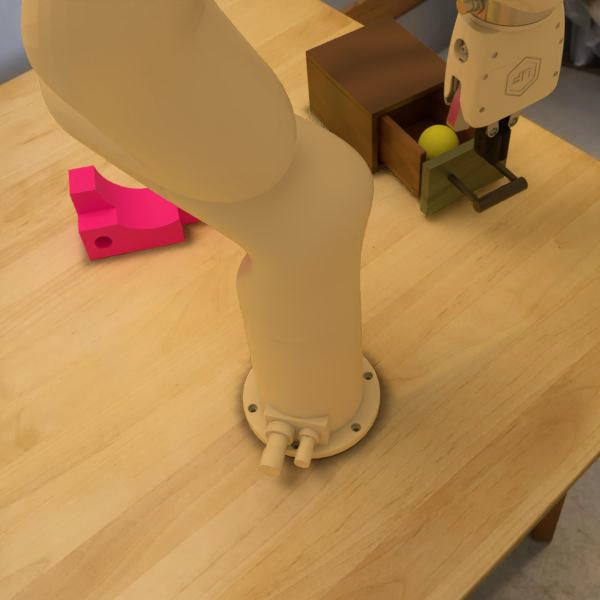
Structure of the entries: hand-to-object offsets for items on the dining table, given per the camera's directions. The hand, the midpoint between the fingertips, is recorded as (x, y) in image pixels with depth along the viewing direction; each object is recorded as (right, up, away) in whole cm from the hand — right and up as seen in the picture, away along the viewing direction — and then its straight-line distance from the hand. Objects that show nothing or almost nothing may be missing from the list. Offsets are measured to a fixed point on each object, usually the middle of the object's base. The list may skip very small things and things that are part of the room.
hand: (489, 154), depth 85 cm
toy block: (-35, -6, +9) cm, 36 cm away
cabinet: (-9, +7, +17) cm, 21 cm away
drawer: (-3, -1, +9) cm, 10 cm away
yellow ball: (-4, +2, +8) cm, 9 cm away
